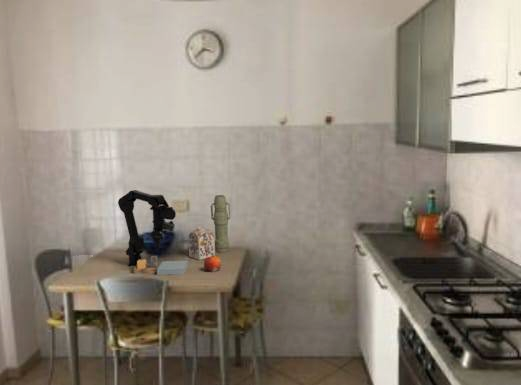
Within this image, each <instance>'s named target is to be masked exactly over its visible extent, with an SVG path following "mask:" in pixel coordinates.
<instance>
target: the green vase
mask: <svg viewBox="0 0 521 385" xmlns="http://www.w3.org/2000/svg"><path fill="white" fill-rule="evenodd" d="M227 205H228V210H227ZM213 206H214V209H213ZM213 210H214V211H213ZM227 211H228V212H227ZM210 216H211V220H212V221H213V224H214V240H215V251H216V252H215V253H226V252H229V251H230V241H229V235H228V234H229V233H228V232H229V231H228V224H229V220H231V206H230V203H229V202H227V199H226V196H225V195H223V194H219V195H215V196H214V199H213V203H212V204H211V205H210Z"/></svg>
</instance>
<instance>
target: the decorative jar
mask: <svg viewBox="0 0 521 385" xmlns="http://www.w3.org/2000/svg"><path fill="white" fill-rule="evenodd" d="M196 228H197V229H194V230H192V231H190V233H189V234H188V235H187V236H188V256H189V258H193V259H195V260H197V261H201V260H205V259H206V258H207V257H211V256H216V252H215V233H213V231H212V230H211V229H207V228H205V226H198V227H196Z"/></svg>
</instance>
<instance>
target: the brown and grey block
mask: <svg viewBox="0 0 521 385" xmlns="http://www.w3.org/2000/svg"><path fill="white" fill-rule="evenodd" d="M146 265H147V267H146V268H145V269H138V268H137V265H136V266H134V267H133V274H157V269H158V267H159V266H160V264H158V255H151V256H150V265H149V264H146Z"/></svg>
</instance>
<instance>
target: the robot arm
mask: <svg viewBox="0 0 521 385" xmlns="http://www.w3.org/2000/svg"><path fill="white" fill-rule="evenodd" d="M137 200H138V201H143V202H146V203H148V205H150V206H151V207H150V208H149V210H150V211H152V223H153V225H152V226H153V227H152V231H151V232H150V237H151V239H152V241H153V242H154V244H155V246H156V248H157V249H160V248H161V245H162V244H163V240H164V234H165V233H166V232H167V231H169V232H173V231H174V229H175V224H174V221H172V220H174V219H175V218H176V215H177V214H176V210H175V209H174V208H173V206H170V205H169V203H168V202H167V200H166V198H165V197H164V194H150V193H145V192H143V191H140V190H136V189H135V190H134V189H133V190H129V191H128V193H126V194H125V195H123V196H122V197H120V198H119V199H118V201H117V205H118V208H119V209H120V211H121V212H122V213H123V215H124V218H125V222H126V227H127V231H128V236H129V238H128V239H129V240H128V248H127V249H126V250H125V254H126V256H128V261H129V262H128V263H129V264H128V266H129V267H130V266H131V267H133V266H134V267H135V266H136V265H137V261H138V260H142V259H143V256H142V253H144V250H145V245H146V244H145V240H144V238H143V237H141V236H139V231H138V227H137V223H136V219H135V215H134V208H135V202H136V201H137ZM166 220H169V221H168V222H167V221H166Z"/></svg>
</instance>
